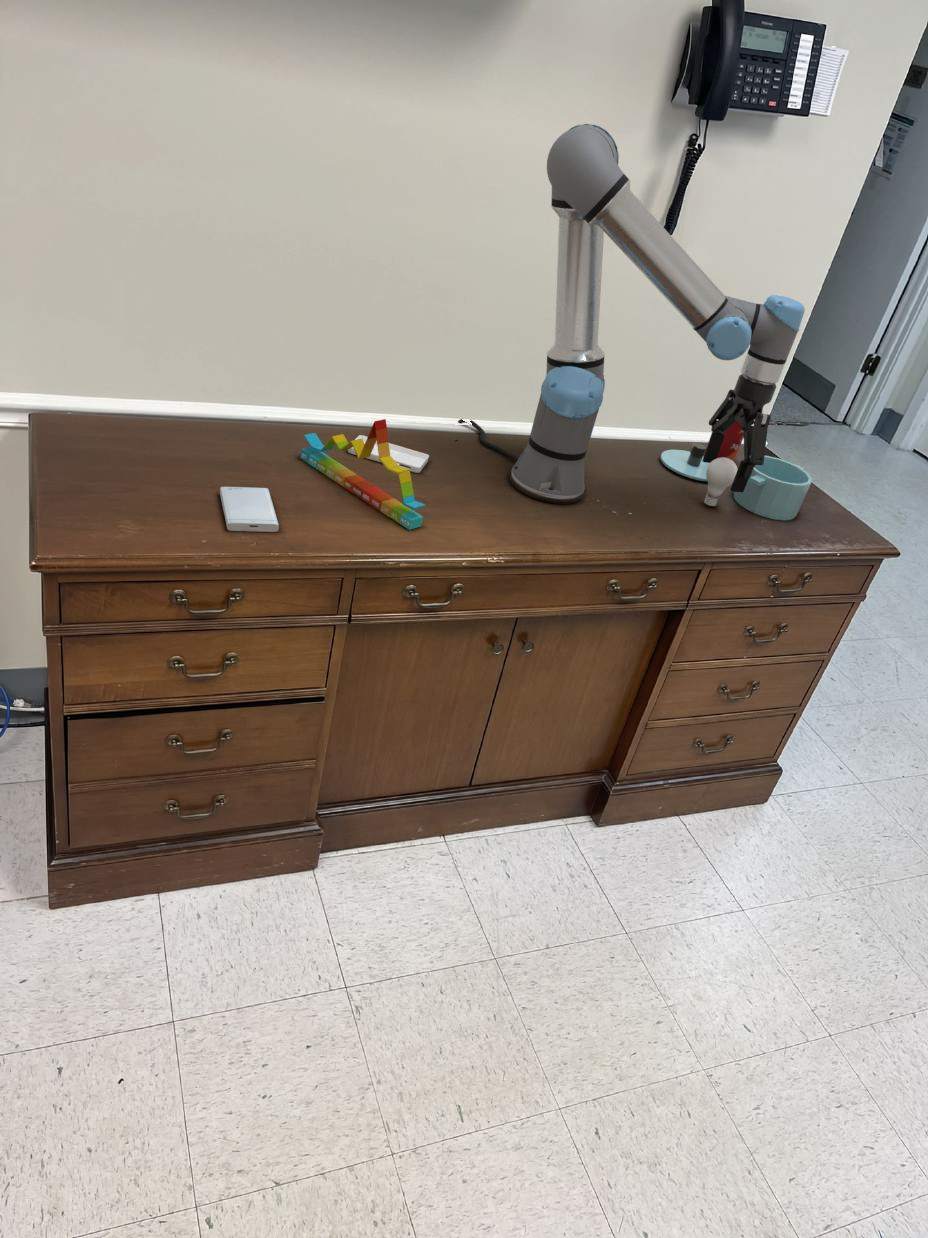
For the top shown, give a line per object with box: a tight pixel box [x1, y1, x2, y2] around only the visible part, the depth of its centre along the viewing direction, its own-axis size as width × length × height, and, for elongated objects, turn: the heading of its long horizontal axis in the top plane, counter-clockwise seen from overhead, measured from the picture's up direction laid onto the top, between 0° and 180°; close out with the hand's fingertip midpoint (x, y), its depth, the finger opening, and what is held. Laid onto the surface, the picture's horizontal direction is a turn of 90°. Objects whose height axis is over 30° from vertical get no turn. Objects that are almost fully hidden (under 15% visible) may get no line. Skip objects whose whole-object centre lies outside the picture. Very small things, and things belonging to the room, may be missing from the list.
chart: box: [299, 418, 426, 531], centre depth 164 cm, size 30×3×15 cm, turn 47°
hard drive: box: [219, 486, 280, 533], centre depth 153 cm, size 2×8×12 cm
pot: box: [732, 455, 813, 521], centre depth 200 cm, size 14×20×8 cm
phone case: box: [347, 434, 430, 474], centre depth 183 cm, size 7×1×15 cm
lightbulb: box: [703, 457, 738, 507], centre depth 193 cm, size 6×6×11 cm
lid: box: [659, 442, 710, 482], centre depth 210 cm, size 15×15×6 cm
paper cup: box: [717, 421, 744, 462], centre depth 217 cm, size 8×8×14 cm
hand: (722, 476), depth 192 cm, fingers open, 13 cm apart
